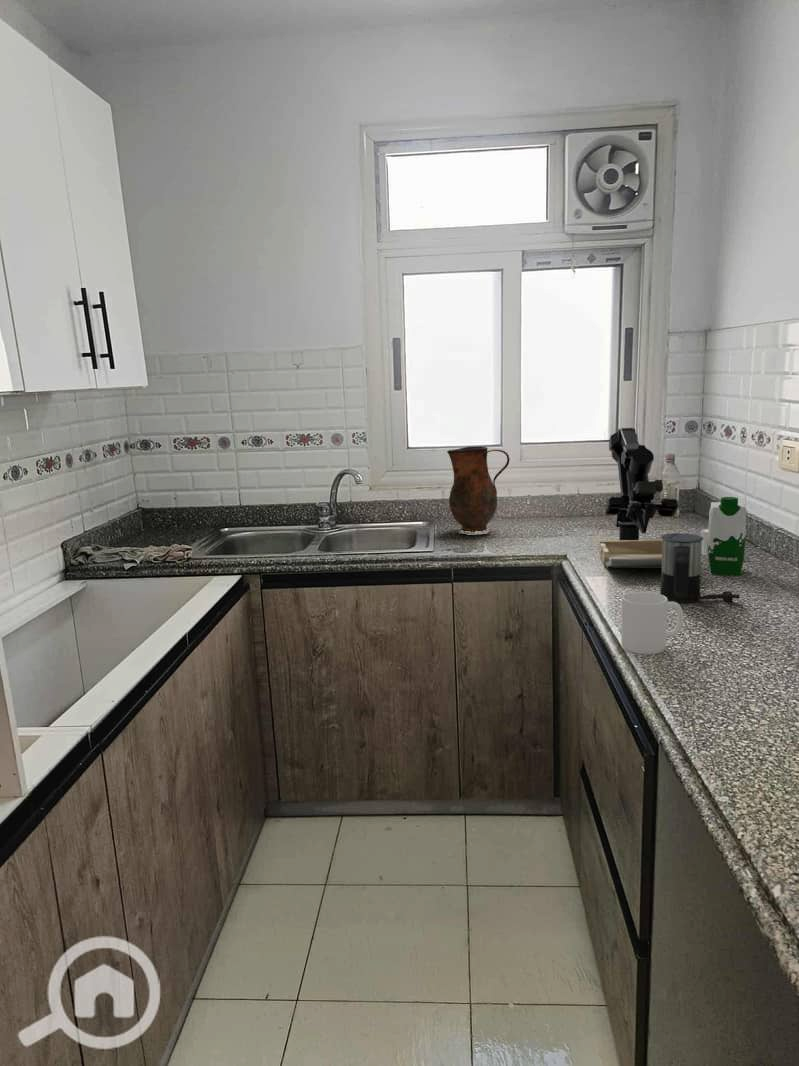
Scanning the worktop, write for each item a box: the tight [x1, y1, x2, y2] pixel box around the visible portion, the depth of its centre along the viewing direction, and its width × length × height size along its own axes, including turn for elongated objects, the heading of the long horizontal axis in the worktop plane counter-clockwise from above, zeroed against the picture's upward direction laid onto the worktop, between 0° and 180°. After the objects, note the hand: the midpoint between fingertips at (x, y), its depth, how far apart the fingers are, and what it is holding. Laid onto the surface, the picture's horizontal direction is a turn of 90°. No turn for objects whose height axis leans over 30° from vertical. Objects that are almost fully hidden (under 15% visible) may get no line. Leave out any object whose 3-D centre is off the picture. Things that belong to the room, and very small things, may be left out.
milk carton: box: [707, 496, 747, 576], centre depth 185 cm, size 9×9×20 cm
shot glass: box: [700, 528, 708, 557], centre depth 204 cm, size 7×7×7 cm
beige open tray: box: [599, 539, 663, 569], centre depth 200 cm, size 12×21×5 cm, turn 81°
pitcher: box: [446, 445, 511, 532], centre depth 246 cm, size 17×21×30 cm
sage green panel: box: [606, 558, 662, 567], centre depth 188 cm, size 2×20×13 cm
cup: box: [620, 591, 684, 656], centre depth 138 cm, size 8×12×10 cm
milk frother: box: [659, 532, 741, 604], centre depth 164 cm, size 14×16×15 cm
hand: (644, 532), depth 193 cm, fingers closed
